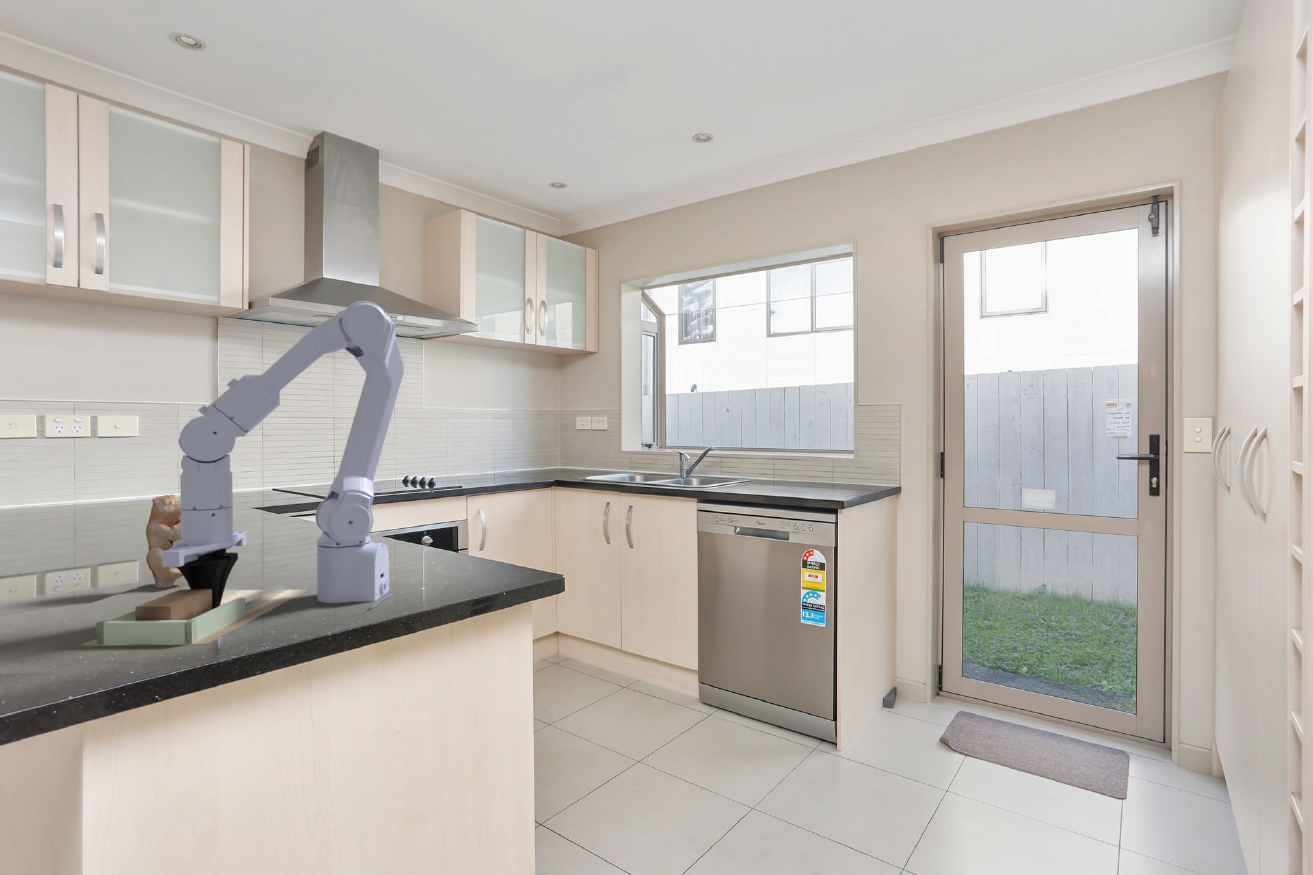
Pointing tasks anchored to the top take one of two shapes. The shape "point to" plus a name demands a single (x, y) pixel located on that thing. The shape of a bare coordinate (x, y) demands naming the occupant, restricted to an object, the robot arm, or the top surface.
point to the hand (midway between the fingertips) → (208, 609)
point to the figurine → (163, 538)
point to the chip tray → (167, 626)
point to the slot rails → (258, 597)
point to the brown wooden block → (195, 599)
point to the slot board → (248, 617)
